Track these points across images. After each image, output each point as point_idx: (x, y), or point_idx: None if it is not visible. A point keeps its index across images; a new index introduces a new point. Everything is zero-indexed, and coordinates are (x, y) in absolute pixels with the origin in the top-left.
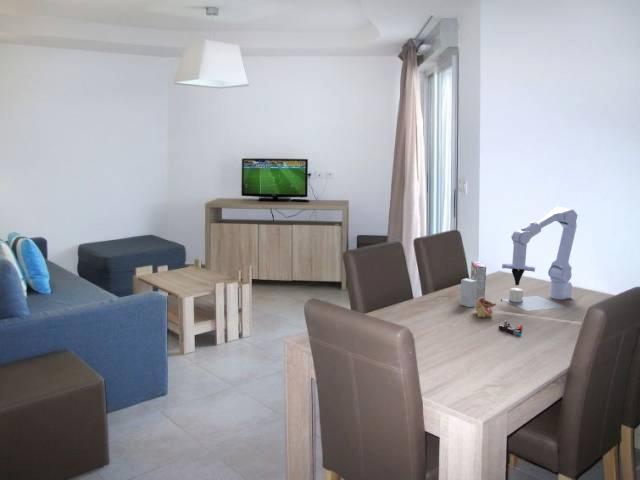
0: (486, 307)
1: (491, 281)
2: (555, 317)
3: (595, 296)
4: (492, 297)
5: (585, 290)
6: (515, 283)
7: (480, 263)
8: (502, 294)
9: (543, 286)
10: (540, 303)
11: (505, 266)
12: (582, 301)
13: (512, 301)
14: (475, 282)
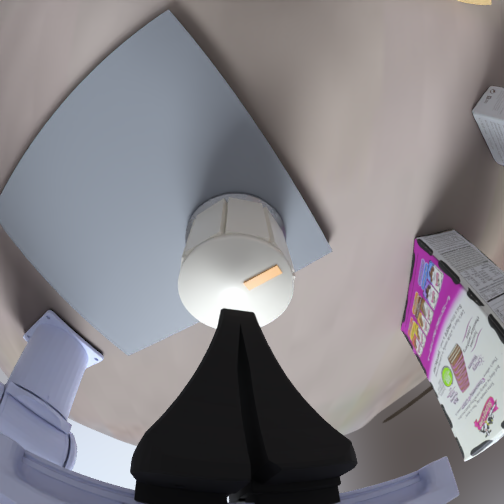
0: None
1: None
2: (28, 27)
3: (11, 370)
4: (356, 301)
5: None
6: (256, 322)
7: (499, 437)
8: (293, 357)
9: None
10: (84, 231)
11: (413, 492)
12: (4, 327)
13: (262, 201)
14: None
